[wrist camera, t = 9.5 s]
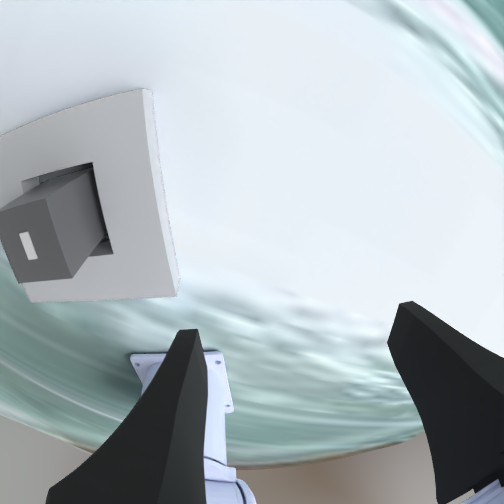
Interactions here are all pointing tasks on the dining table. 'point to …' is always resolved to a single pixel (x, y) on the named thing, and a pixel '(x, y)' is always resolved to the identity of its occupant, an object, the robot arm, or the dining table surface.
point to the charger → (53, 227)
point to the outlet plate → (102, 194)
